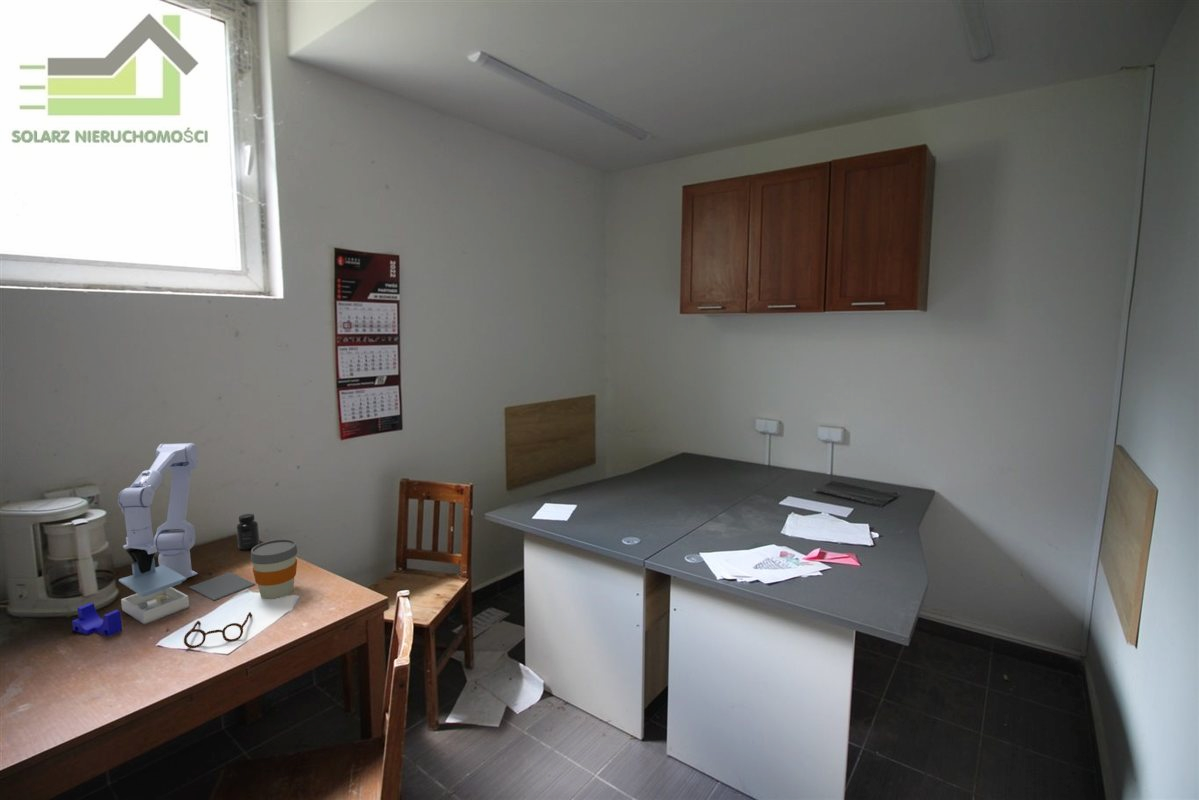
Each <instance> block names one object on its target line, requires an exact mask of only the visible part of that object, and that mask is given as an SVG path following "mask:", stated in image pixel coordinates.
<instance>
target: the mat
mask: <svg viewBox="0 0 1199 800" xmlns="http://www.w3.org/2000/svg"><path fill="white" fill-rule="evenodd" d="M253 586H256V582H253V581H250V580H248V579H246V578H244V577H241V576H239V575H237V574H235V573H232V572H230V571H228V572H226V573H223V574H220V575H218V576H215V577H212V578H210V579H207V580H204V581H201V582H199V583H196V584H194V585H190V586H189V587H188V589H190V590H192V591H194V592H196V593H198V594H200V595H202V596H203V597H205V598H207V599H209V600H211V601H213V602H216V601H218V600H220V599H223V598H225V597H228V596H230V595H232V594H235V593H238V592H241V591H243V590H245V589H247V588H251V587H253Z"/></svg>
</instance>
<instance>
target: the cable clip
mask: <svg viewBox="0 0 1199 800" xmlns="http://www.w3.org/2000/svg"><path fill="white" fill-rule="evenodd" d="M77 614H78V616H77V617H78V618H76V619H74V620H72V621H71V623H72V630H73V631H74V632H77V633H81V634H83V635H87V636H89V635H91V634H93V633H98V634H101V635H104V636H108V637H111V636H113V635H116V634H118V633H119V632H121V631H123V625H122V618H121V616H122V615H121V610H119V609H114V610H112V611H110V612H108V613H105V614H103V618H102V617H101V616H99V614H98V612H97V610H96V607H95V603H94V602H93V603H92V602H89V603H87V604H84V605H81V606H79V607H77Z"/></svg>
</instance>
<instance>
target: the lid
mask: <svg viewBox="0 0 1199 800" xmlns="http://www.w3.org/2000/svg"><path fill="white" fill-rule="evenodd" d="M155 561H156V560H155V558H154V557H153V560H152V565H151V570H150V571H148V572H145V573H141V572H140V570H139V566H138V563H137V562H135V563H134V562H133V563H131V571H132V575H129V576H125V577H121V578H119V579H118V582H119V583H120V584H122V585H124V586H125V587H126V588H129V590H132V591H133V592H135V594H137V593H138V594H139V595H141V596H144V597H145V596H148V595H150V594H153V593H156V592H159V591H162V590H164V589H167V588H170V587H172V588H174V587H175V586H178V585H181V584H183V582H184V581H186V580H187V579H188V578H186V577H184V576H182V575H180V574H179V573H177V572H175V571H173V570H172V569H170V568H168V567H166V566H164V565H162V566H159V565H158V566H156V562H155Z"/></svg>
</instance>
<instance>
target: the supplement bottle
mask: <svg viewBox="0 0 1199 800" xmlns="http://www.w3.org/2000/svg"><path fill="white" fill-rule="evenodd" d="M238 522H239V523H238V524H237V525H236V527H235V528H236V538H237V547H238V549H239V550H241V549H242V550H241V551H247V550H252V548H253V547H255V546H256V545H258V544H261V543H260V534H259V533H260V532H259V523H258V522H257V521H256V520H255V514H254V513H246V514H245V513H244V514H241V515H239V516H238Z"/></svg>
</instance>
